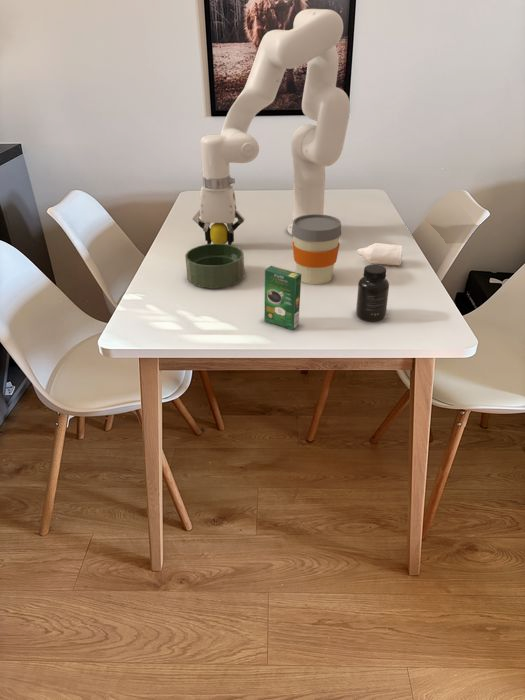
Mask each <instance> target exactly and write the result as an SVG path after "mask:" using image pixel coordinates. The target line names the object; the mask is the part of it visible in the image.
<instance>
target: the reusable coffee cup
mask: <svg viewBox="0 0 525 700" xmlns="http://www.w3.org/2000/svg"><path fill="white" fill-rule="evenodd" d="M292 223H293V226H292V235H291V236H292V237H293V241H292V251H293V260H294V262H295V264H296V273H299V274H301V283H304V284H309V285H322V284H326V283H329V282H330V281H331V280H332V278H333V271H334V268H335V267H334V266H335V264H336V263H337V260H338V255H339V250H340V242H339V241H340V237H341V236H342V221H341V220H340V219H339V218H338V217H335V216H332V215H328V214H323V215H320V214H311V215H304V216H300V217H297V218H295V219H294V221H293V220H292Z"/></svg>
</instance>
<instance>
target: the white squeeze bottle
mask: <svg viewBox="0 0 525 700" xmlns="http://www.w3.org/2000/svg"><path fill="white" fill-rule="evenodd" d="M356 252H357V254H358V255H359V256H360V257H362V258H363V259H365V260H366V261H367V262H368V263H370V264H376V265H388V266H399V267H400V266H401V264H402V263H401V262H402V255H403V245H401V244H392V243H391V244H390V243H381V242H375V243H373V244H370V245H367V246H366V247H361V248H358V249H357V250H356Z"/></svg>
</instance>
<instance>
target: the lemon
mask: <svg viewBox="0 0 525 700" xmlns="http://www.w3.org/2000/svg"><path fill="white" fill-rule="evenodd" d="M228 231H229V229H228V227H227V224H226V223H212V225H211V227H210V238H211V241H212V242H211V243H212V244H228Z"/></svg>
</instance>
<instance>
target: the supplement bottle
mask: <svg viewBox="0 0 525 700" xmlns="http://www.w3.org/2000/svg"><path fill="white" fill-rule="evenodd" d="M389 290H390V283H389V280H388V279H387V268H386V267H385V266H383V265H382V264H374V263H371V264H367V265H365V266H364V268H363V275H362V277H361V278H359V280H358V285H357V296H356V309H355V313H356V314H355V315H356V317H357V318H358V319H359V320H360V321H363V322H367V323H378V322H381V321H383V320H384V319H385V318H386V316H387V309H388V300H389Z"/></svg>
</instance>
